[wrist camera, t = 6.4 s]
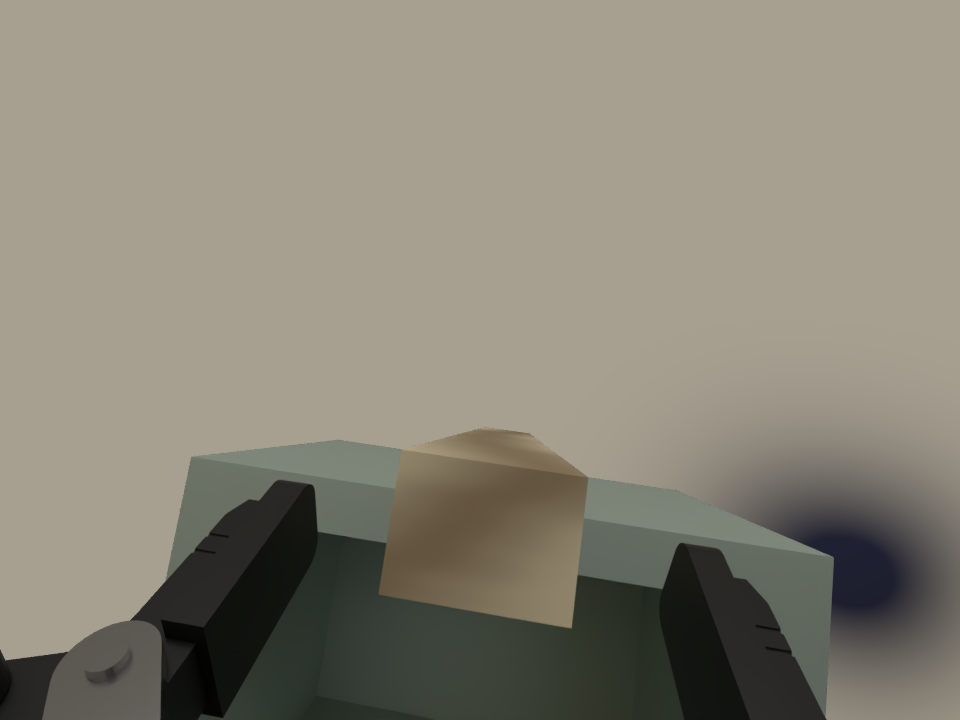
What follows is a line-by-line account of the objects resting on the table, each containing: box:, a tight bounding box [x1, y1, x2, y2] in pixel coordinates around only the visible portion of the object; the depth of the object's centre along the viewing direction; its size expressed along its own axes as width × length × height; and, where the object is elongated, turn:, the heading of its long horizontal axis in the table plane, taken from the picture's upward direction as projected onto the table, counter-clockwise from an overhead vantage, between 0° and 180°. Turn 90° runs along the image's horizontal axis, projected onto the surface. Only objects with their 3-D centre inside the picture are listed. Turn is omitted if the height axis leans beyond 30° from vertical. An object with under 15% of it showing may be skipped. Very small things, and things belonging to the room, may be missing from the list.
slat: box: [379, 427, 588, 628], centre depth 21 cm, size 3×26×2 cm, turn 176°
